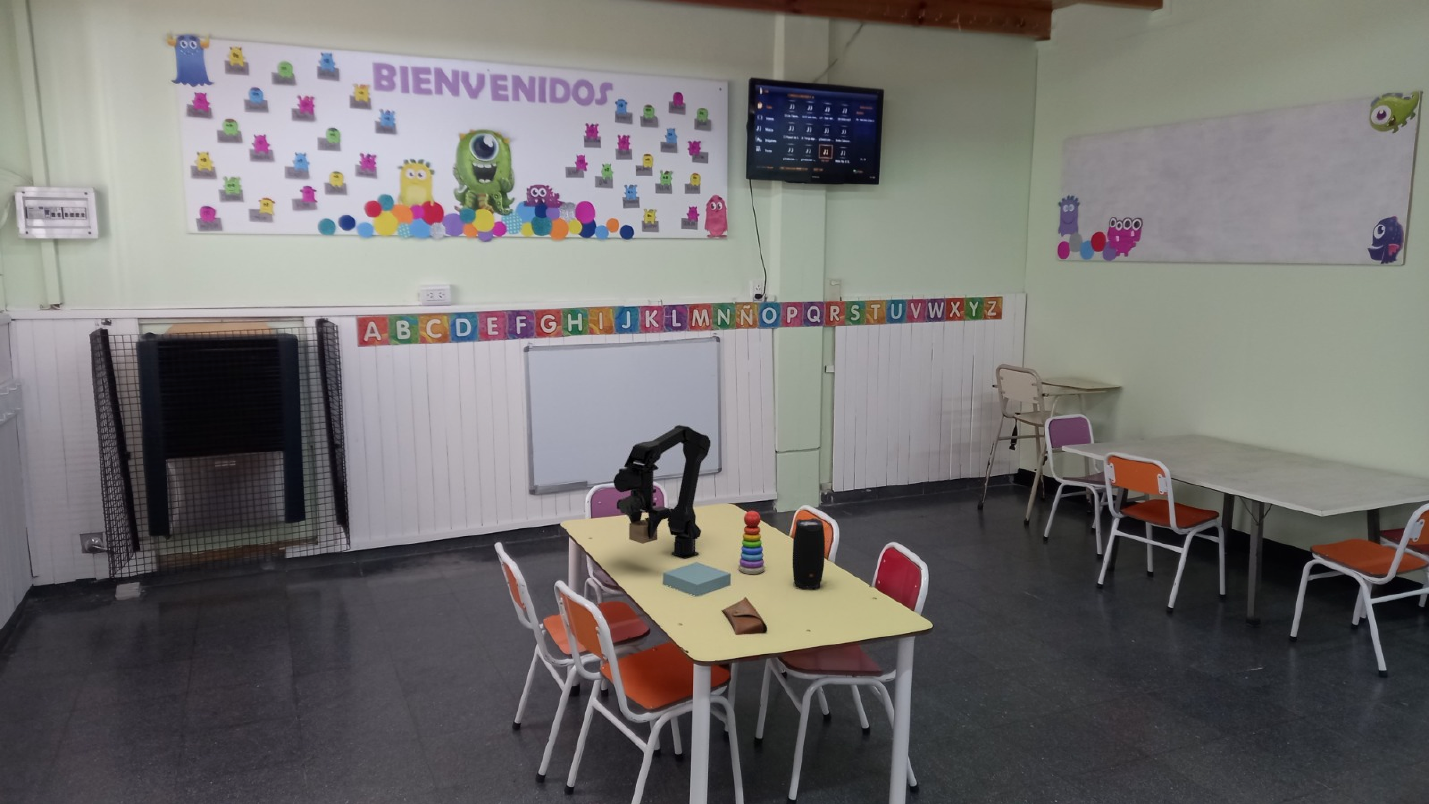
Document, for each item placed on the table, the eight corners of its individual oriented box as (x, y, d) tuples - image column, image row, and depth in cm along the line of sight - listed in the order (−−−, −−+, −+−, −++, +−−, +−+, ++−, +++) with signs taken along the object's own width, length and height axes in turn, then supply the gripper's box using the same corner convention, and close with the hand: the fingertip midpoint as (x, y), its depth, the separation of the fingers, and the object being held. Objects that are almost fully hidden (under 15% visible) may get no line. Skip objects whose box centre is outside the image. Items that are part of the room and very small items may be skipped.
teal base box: (696, 574, 288) (696, 562, 287) (730, 586, 278) (730, 573, 278) (662, 585, 278) (663, 572, 277) (696, 598, 268) (697, 584, 268)
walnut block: (643, 535, 292) (644, 519, 291) (657, 539, 288) (657, 523, 287) (629, 539, 288) (629, 523, 287) (642, 543, 284) (642, 527, 283)
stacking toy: (768, 569, 293) (770, 510, 290) (758, 576, 286) (760, 516, 283) (744, 565, 296) (746, 506, 293) (734, 572, 289) (736, 513, 286)
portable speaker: (820, 592, 274) (822, 527, 271) (788, 588, 276) (790, 523, 273) (825, 582, 282) (828, 519, 279) (794, 579, 285) (796, 516, 281)
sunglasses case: (718, 609, 259) (731, 588, 259) (739, 620, 261) (751, 599, 261) (736, 635, 242) (749, 613, 242) (758, 647, 244) (771, 625, 244)
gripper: (603, 484, 286) (602, 534, 288) (645, 496, 273) (644, 548, 276) (630, 478, 294) (630, 527, 296) (672, 490, 281) (672, 540, 284)
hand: (643, 536), depth 288 cm, fingers closed on walnut block, 6 cm apart
